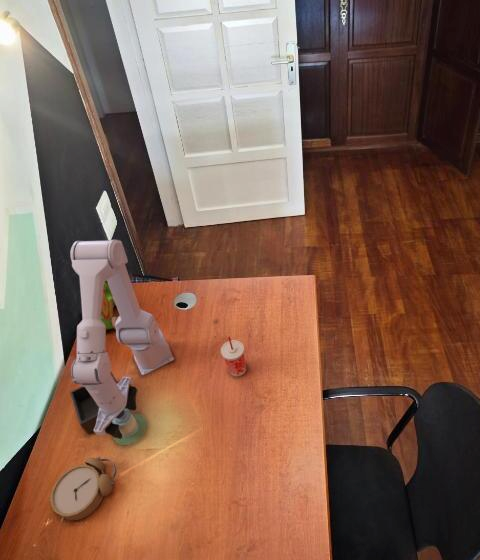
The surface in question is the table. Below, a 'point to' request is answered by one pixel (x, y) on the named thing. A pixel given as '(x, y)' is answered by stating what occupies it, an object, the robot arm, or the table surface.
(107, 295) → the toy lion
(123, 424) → the bottle
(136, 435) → the coaster
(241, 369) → the beverage cup
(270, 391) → the table surface
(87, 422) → the bin
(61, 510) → the alarm clock
